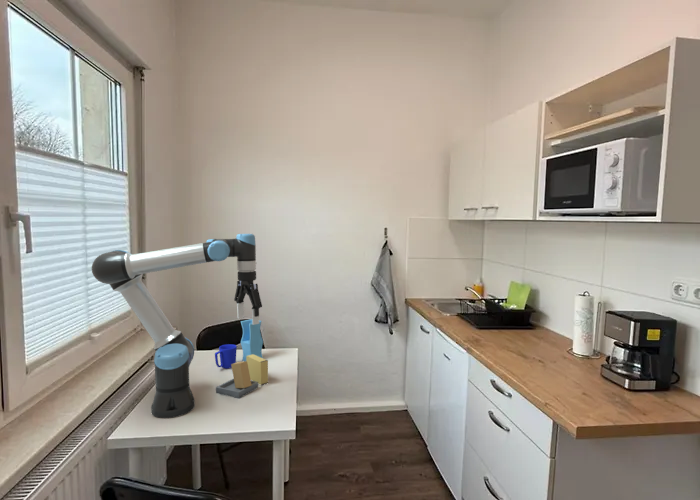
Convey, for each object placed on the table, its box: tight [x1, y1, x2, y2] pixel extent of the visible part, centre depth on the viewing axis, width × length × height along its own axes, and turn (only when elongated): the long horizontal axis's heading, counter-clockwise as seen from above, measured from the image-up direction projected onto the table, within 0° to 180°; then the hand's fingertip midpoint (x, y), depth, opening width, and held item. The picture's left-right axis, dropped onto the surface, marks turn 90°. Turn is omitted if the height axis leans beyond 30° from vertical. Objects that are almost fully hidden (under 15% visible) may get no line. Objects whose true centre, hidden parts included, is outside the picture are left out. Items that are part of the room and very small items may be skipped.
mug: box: [214, 343, 238, 369], centre depth 200 cm, size 8×12×10 cm
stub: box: [231, 361, 252, 388], centre depth 173 cm, size 7×4×10 cm, turn 46°
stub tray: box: [215, 377, 259, 399], centre depth 174 cm, size 12×12×2 cm
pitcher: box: [240, 318, 264, 362], centre depth 211 cm, size 8×8×20 cm
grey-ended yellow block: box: [246, 354, 269, 386], centre depth 184 cm, size 12×4×10 cm, turn 44°
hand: (248, 321), depth 174 cm, fingers open, 13 cm apart
